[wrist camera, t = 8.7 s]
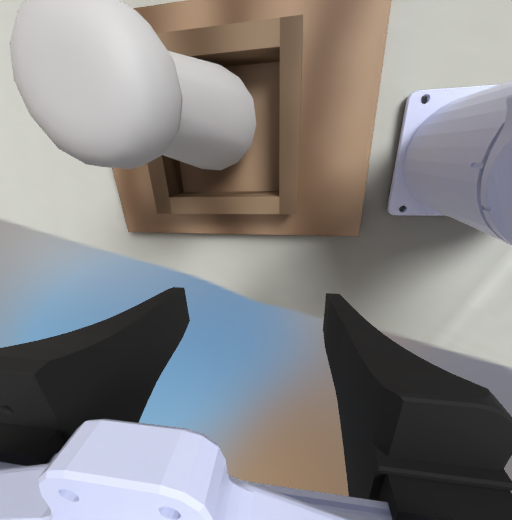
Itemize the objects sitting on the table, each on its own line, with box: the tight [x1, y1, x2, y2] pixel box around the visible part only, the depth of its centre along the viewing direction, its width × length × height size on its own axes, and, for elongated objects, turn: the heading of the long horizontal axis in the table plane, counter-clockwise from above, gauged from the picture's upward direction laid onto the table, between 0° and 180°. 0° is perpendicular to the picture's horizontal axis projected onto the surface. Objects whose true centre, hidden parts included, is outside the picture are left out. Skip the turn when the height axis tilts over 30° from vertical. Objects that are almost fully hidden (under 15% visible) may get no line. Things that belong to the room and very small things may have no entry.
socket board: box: [112, 0, 392, 236], centre depth 17 cm, size 20×15×4 cm
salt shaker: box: [10, 0, 256, 170], centre depth 12 cm, size 6×6×13 cm
